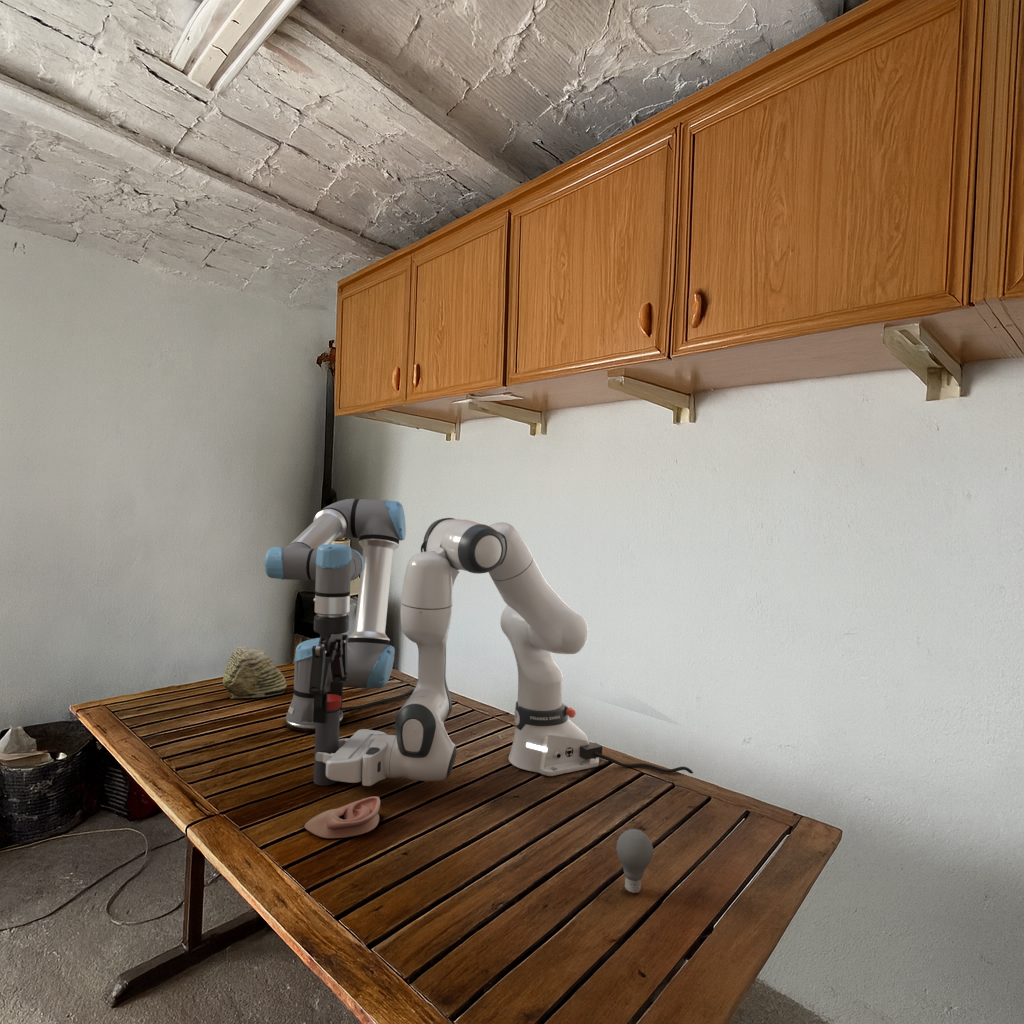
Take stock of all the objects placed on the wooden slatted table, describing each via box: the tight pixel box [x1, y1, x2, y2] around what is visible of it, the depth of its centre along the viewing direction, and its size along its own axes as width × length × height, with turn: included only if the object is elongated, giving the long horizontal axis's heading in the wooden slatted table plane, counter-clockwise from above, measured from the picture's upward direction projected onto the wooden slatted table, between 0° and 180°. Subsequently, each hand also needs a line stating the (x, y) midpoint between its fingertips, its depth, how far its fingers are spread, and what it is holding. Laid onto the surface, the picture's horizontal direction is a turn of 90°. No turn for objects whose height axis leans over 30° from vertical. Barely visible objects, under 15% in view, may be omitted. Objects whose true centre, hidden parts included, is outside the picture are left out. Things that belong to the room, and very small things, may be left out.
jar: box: [312, 708, 341, 787], centre depth 141 cm, size 5×5×18 cm
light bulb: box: [615, 828, 654, 894], centre depth 106 cm, size 6×6×10 cm
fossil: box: [222, 646, 288, 699], centre depth 198 cm, size 9×18×15 cm, turn 132°
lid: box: [327, 694, 343, 711], centre depth 141 cm, size 6×6×2 cm
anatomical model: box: [304, 796, 381, 839], centre depth 123 cm, size 13×4×12 cm
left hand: (327, 715), depth 141 cm, fingers open, 8 cm apart
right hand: (322, 749), depth 141 cm, fingers closed on jar, 5 cm apart
